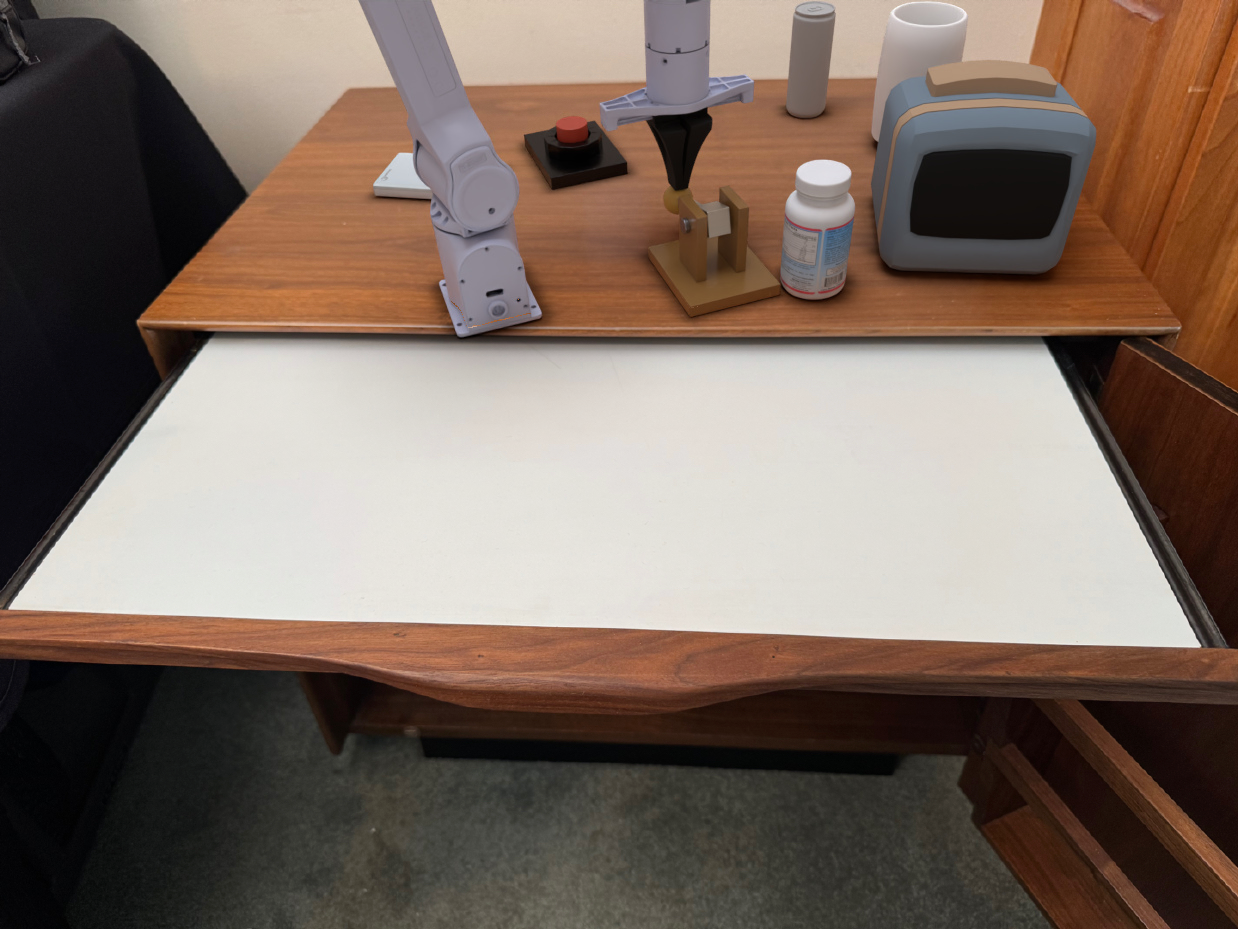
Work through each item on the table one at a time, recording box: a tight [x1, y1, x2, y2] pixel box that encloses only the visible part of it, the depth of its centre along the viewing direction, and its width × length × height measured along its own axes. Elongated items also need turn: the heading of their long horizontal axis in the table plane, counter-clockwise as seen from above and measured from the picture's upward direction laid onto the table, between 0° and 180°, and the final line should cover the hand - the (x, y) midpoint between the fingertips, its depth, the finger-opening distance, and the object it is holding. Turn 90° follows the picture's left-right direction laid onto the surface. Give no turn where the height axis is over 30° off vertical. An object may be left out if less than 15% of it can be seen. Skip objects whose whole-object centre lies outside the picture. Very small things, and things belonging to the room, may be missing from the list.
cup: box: [870, 0, 969, 142], centre depth 97 cm, size 8×8×14 cm
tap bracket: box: [647, 185, 782, 318], centre depth 82 cm, size 11×9×8 cm
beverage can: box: [785, 0, 836, 119], centre depth 105 cm, size 5×5×12 cm
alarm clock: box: [870, 59, 1097, 275], centre depth 82 cm, size 16×16×16 cm
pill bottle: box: [779, 159, 856, 300], centre depth 79 cm, size 6×6×11 cm
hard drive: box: [372, 152, 433, 200], centre depth 101 cm, size 2×8×12 cm
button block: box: [523, 120, 629, 190], centre depth 102 cm, size 12×9×3 cm
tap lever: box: [662, 185, 731, 238], centre depth 84 cm, size 12×3×3 cm, turn 19°
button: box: [555, 115, 588, 143], centre depth 101 cm, size 4×4×2 cm
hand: (678, 185), depth 87 cm, fingers closed, pressing on tap lever
